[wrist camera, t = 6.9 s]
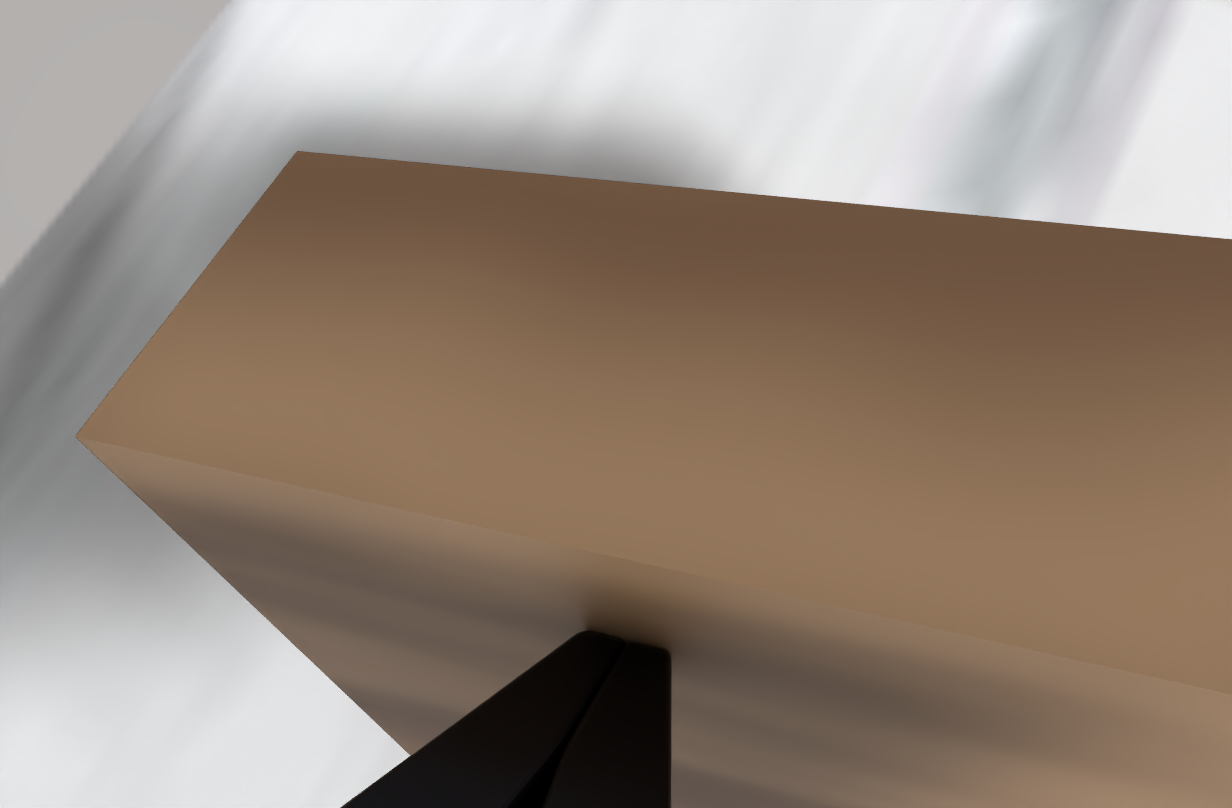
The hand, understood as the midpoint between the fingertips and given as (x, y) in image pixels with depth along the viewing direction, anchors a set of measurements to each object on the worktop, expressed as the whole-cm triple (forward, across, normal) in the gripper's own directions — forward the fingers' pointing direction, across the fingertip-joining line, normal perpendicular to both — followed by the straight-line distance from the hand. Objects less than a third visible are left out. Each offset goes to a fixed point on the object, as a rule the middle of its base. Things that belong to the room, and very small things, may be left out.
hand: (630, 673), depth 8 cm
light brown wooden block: (+5, 0, +6) cm, 8 cm away
